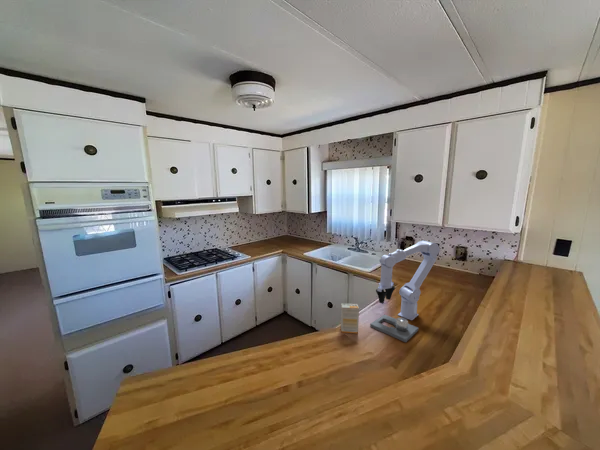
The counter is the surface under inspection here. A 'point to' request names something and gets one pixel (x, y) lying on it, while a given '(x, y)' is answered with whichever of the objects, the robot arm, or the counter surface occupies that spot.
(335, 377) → the counter surface
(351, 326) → the supplement box
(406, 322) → the headed peg
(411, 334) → the keyhole plate
